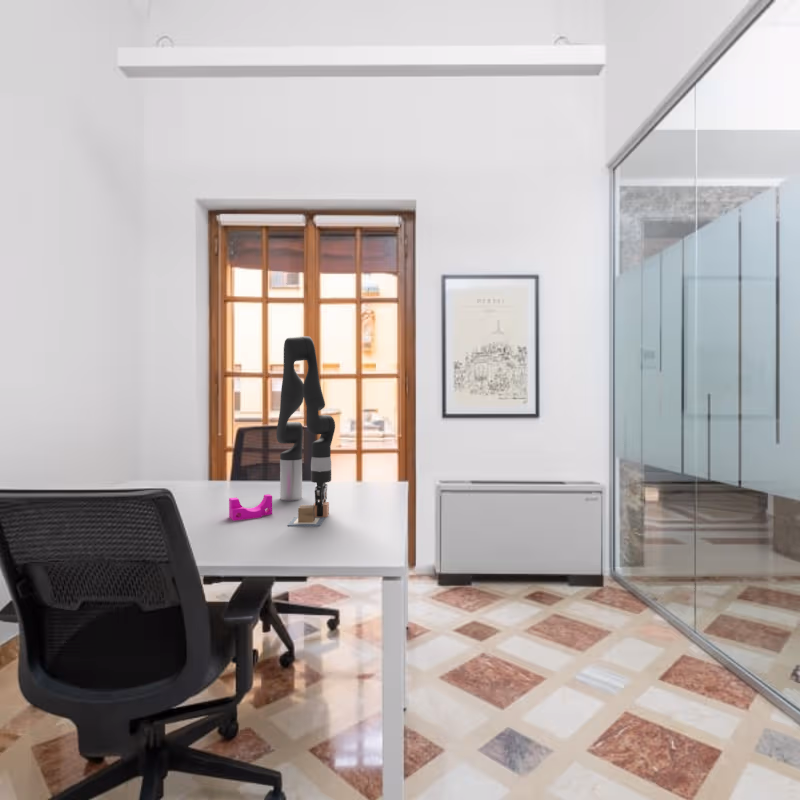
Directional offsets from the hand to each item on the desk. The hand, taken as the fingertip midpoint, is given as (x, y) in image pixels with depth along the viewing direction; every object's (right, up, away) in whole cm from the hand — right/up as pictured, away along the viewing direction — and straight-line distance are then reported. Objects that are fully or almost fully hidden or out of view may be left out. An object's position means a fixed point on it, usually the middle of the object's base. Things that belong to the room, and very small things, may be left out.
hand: (321, 514), depth 198 cm
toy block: (-26, -1, -1) cm, 26 cm away
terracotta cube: (0, -1, 0) cm, 1 cm away
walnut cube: (-4, 0, -10) cm, 11 cm away
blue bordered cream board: (-4, -1, -10) cm, 11 cm away
